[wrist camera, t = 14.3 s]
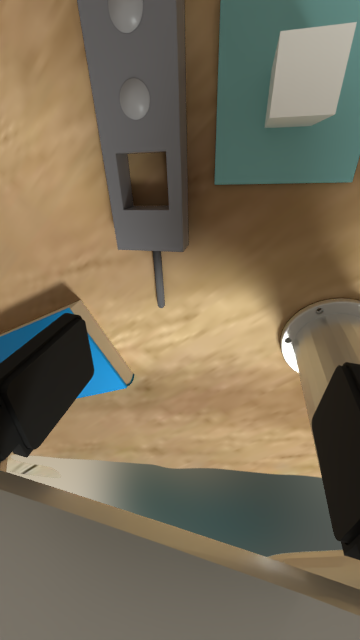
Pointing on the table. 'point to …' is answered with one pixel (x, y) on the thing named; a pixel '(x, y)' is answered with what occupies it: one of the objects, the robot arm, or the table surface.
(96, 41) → the power strip
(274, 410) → the table surface
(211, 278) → the table surface
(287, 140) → the mat
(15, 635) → the robot arm
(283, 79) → the charger plug
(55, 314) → the book
